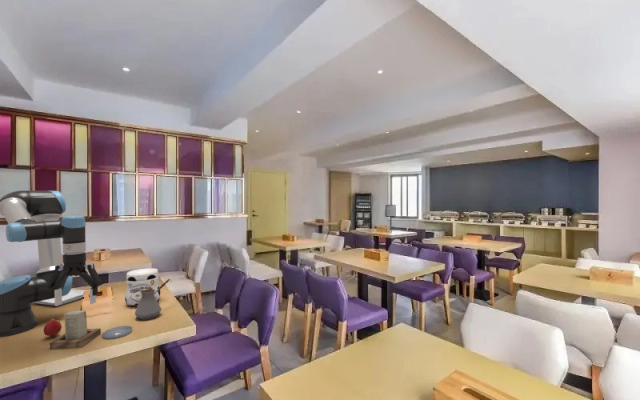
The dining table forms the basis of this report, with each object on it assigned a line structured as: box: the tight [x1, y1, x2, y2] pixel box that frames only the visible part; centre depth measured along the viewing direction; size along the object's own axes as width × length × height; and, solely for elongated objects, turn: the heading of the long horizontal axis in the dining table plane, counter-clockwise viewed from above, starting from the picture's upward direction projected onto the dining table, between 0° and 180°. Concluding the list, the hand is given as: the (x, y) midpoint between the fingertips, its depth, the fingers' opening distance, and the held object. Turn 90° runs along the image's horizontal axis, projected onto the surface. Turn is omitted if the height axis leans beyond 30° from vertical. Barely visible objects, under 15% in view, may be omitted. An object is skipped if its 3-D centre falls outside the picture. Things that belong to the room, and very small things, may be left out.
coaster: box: [101, 325, 133, 340], centre depth 134 cm, size 11×11×1 cm
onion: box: [43, 318, 63, 338], centre depth 131 cm, size 6×6×8 cm
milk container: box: [124, 267, 161, 307], centre depth 172 cm, size 17×17×18 cm
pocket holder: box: [48, 328, 102, 350], centre depth 127 cm, size 12×12×2 cm
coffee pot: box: [134, 278, 172, 321], centre depth 158 cm, size 21×12×15 cm, turn 166°
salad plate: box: [32, 288, 87, 307], centre depth 179 cm, size 21×21×3 cm
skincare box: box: [64, 310, 88, 340], centre depth 127 cm, size 6×4×12 cm
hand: (75, 304), depth 127 cm, fingers open, 13 cm apart
